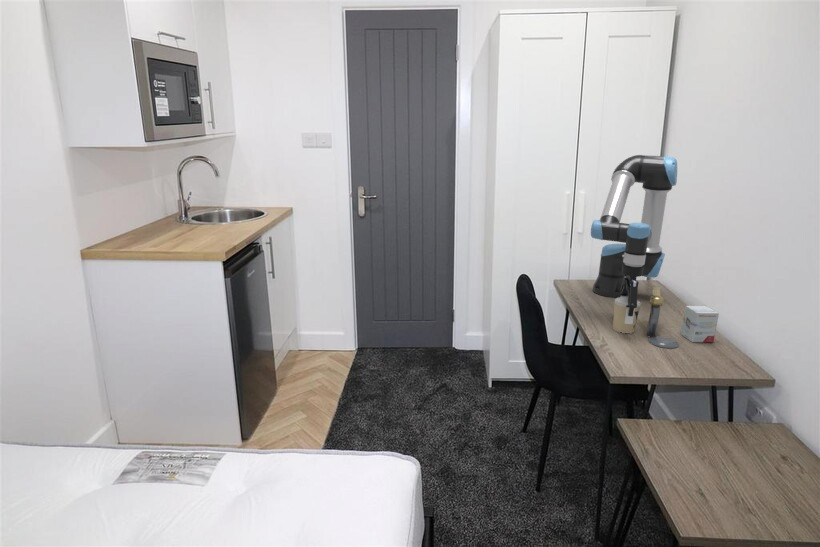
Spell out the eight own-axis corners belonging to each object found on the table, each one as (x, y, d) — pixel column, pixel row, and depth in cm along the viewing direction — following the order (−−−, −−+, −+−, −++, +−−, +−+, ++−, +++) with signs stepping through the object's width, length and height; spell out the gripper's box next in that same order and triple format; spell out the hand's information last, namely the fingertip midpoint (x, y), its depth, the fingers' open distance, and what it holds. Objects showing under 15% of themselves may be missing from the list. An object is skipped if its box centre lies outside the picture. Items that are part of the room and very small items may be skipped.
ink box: (701, 334, 210) (707, 305, 207) (713, 342, 202) (720, 312, 199) (679, 333, 210) (684, 304, 207) (691, 342, 202) (697, 312, 199)
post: (647, 333, 209) (652, 302, 206) (656, 335, 207) (661, 304, 204) (645, 336, 206) (650, 304, 203) (654, 338, 205) (660, 306, 201)
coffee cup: (638, 335, 206) (643, 305, 203) (612, 333, 208) (616, 303, 205) (633, 326, 215) (638, 298, 212) (609, 324, 217) (613, 295, 214)
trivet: (650, 335, 207) (651, 334, 207) (679, 341, 202) (680, 340, 202) (646, 344, 199) (647, 342, 198) (676, 350, 194) (677, 349, 194)
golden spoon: (661, 293, 216) (662, 287, 216) (662, 306, 201) (664, 299, 200) (649, 291, 218) (650, 285, 217) (649, 304, 202) (651, 298, 201)
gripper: (617, 256, 217) (609, 306, 223) (629, 271, 193) (620, 327, 199) (637, 257, 216) (629, 308, 221) (651, 273, 192) (642, 330, 198)
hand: (625, 317), depth 210 cm, fingers open, 13 cm apart
